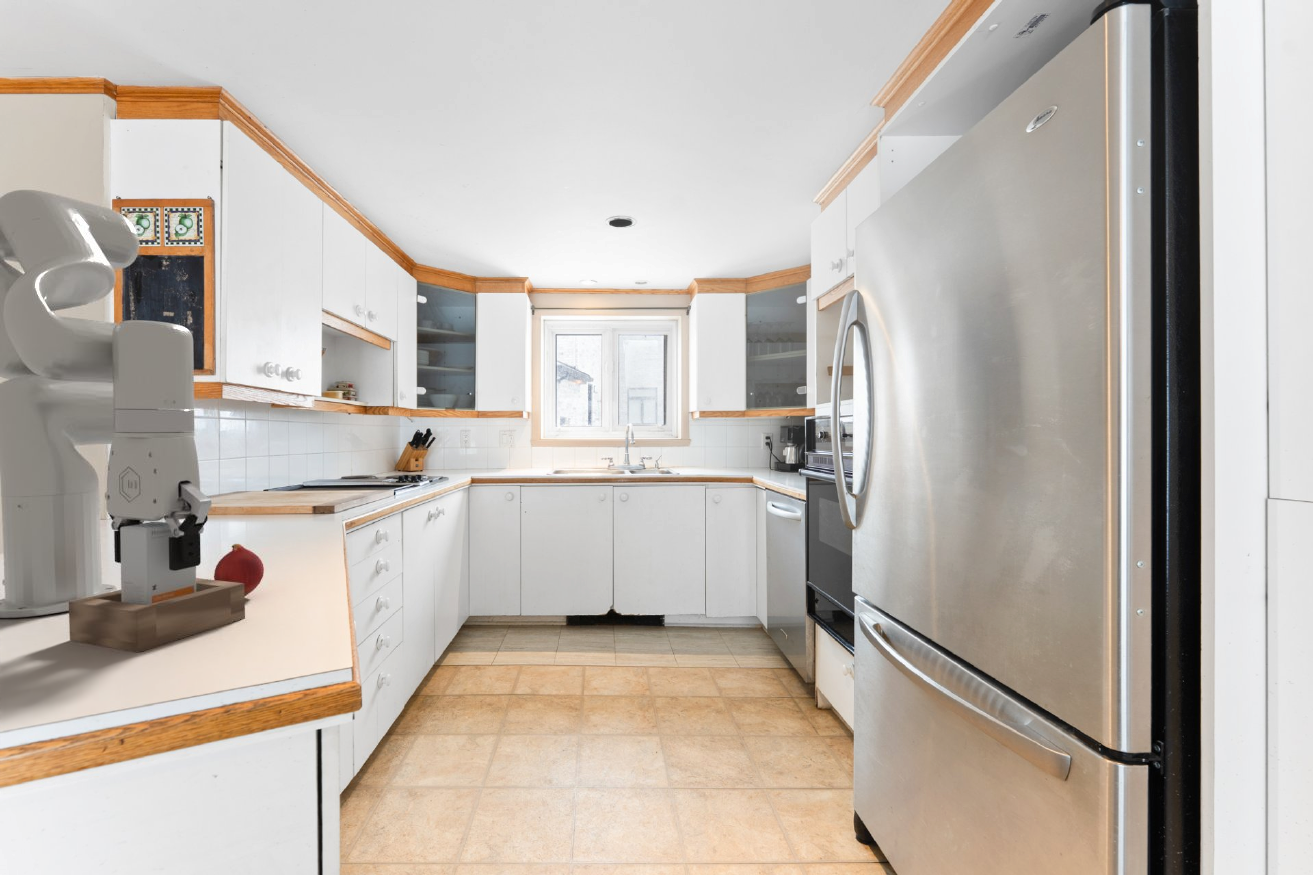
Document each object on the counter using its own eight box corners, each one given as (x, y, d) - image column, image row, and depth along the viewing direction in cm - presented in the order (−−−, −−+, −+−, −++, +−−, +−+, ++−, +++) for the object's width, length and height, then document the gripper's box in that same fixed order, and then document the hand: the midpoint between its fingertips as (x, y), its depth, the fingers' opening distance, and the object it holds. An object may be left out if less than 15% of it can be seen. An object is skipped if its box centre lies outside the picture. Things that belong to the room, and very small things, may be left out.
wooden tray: (69, 640, 69) (68, 601, 69) (180, 609, 81) (179, 576, 81) (138, 652, 66) (137, 611, 65) (245, 618, 77) (244, 583, 77)
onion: (241, 591, 89) (239, 538, 89) (274, 593, 88) (272, 539, 87) (204, 603, 83) (202, 546, 83) (238, 606, 82) (237, 548, 82)
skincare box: (147, 630, 70) (144, 528, 69) (120, 627, 71) (117, 526, 70) (199, 613, 76) (197, 519, 75) (173, 611, 77) (171, 518, 76)
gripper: (71, 423, 72) (74, 564, 72) (170, 426, 66) (172, 579, 67) (142, 423, 79) (145, 551, 79) (237, 425, 73) (238, 563, 74)
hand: (157, 564), depth 73 cm, fingers open, 9 cm apart
